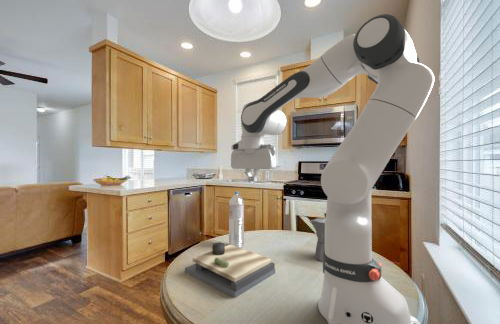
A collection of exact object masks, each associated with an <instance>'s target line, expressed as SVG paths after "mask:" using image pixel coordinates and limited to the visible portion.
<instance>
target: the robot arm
mask: <svg viewBox="0 0 500 324" xmlns="http://www.w3.org/2000/svg"><path fill="white" fill-rule="evenodd" d="M358 75H367V79H369V80H370V81H372V82H373V83H375V84H376V87H375V89H374V90H373V92H372V94H371V96H370V97H369V99H368V101H367V102H366V104H365V106H364V107H363V110H361V112H360V114H359V116H358V118H357V119H356V121H355V123H354V125H352V128H351V129H350V130H349V131H348V133H347V135H346V136H345V138H344V139H343V140H342V142H340V145H338V147H337V149H336V151H335V152H334V153H333V155H332V156H331V157H330V159H329V160H328V162H327V164H326V165H325V167H324V168H323V170H322V173H321V176H320V184H321V189H322V190H323V193H324V194H325V196H326V197H327V199H326V202H327V203H326V212H325V213H326V218H325V217H324V218H325V251H324V252H323V262H322V273H323V281H322V288H321V293H320V297H319V301H318V304H317V307H318V308H317V309H318V311H319V313H320V315H322V317H323V318H324V319H325V320H326V322H327V324H421V323H420V321H419V320H418V319H417V318H416V317H414V316H412V315H411V312H410V309H409V305H408V303H407V300H406V298H405V297H404V295H402V293H400V292H399V291H398V290H397V289H395V288H394V287H393V286H392V284H391V283H389V282H387V280H386V279H384V277H382V265H383V264H382V261H380V262H379V263H378V262H377V261H376V260H375V259H374V258H373V248H372V247H373V235H372V234H373V226H372V225H373V224H372V223H373V222H372V219H373V218H372V212H373V211H372V207H373V206H372V203H373V202H372V188H373V187H374V185H375V184H376V182H377V181H378V179H379V178H380V176H381V175H382V173H383V171H384V170H385V168H386V167H387V164H388V163H389V162H390V159H392V157H393V155H394V153H395V152H396V150H397V148H398V147H399V145H400V144H401V142H402V141H403V139H404V138H405V136H406V135H407V134H408V132H409V131H410V128H411V127H412V125H413V123H414V122H415V121H416V120H417V118H418V117H419V115H420V113H421V112H422V110H423V107H424V106H425V104H426V102H427V101H428V97H429V95H430V94H431V91H432V89H433V86H434V83H435V75H434V73H433V71H432V70H431V69H430V68H429V67H428V66H426V65H425V64H422V63H420V59H419V56H418V54H417V52H416V49H415V46H414V42H413V40H412V38H411V37H410V34H409V33H408V32H407V30H406V29H405V26H404V24H403V22H401V20H400V19H399V18H397V17H395V16H393V14H388V13H387V14H385V13H383V14H379V15H378V14H377V15H376V16H374V17H372V18H370V19H368V20H367V21H365V22H364V23H363V24H362V25H361V26H360V27H359V29H358V30H357V32H356V34H355V33H354V34H353V33H352V34H350V35H347V36H346V37H344V38H343V39H341V40H340V41H338V42H337V43H335V44H334V45H333V46H331V47H330V48H329V49H327V50H326V51H325V52H324V53H322V55H320V56H319V57H318V58H317V59H315V60H314V61H313V62H312V63H310V64H309V65H308V66H307V67H305V68H303V69H301V70H298V71H297V72H295V73H293V74H291V75H290V76H288V77H287V78H285V79H284V80H283V81H281V82H280V83H279V84H277V85H276V86H274V88H272V89H271V90H270V91H268V92H267V93H266V94H264V95H263V96H262V97H260V98H258V99H257V100H254V101H249V102H248V103H245V104H244V105H243V107H242V110H241V115H240V121H241V123H240V125H241V126H240V127H241V135H240V136H241V137H240V140H239V141H237V142H236V143H234V144H232V145H231V151H232V152H231V154H230V167H231V168H232V170H235V169H236V170H244V172H245V174H246V176H247V181H248V182H257V181H258V176H259V174H260V173H261V172H260V171H261V170H275V169H276V167H277V158H276V156H277V155H276V148H275V145H273V144H272V143H270V144H266V143H265V135H266V136H267V135H269V136H278V135H281V134H282V133H283V132H284V131H285V129H286V128H287V122H288V121H287V116H286V114H285V112H284V111H282V110H281V109H282V108H283V107H285V106H286V105H287V104H289V103H290V102H293V101H294V100H297V99H303V98H316V99H317V98H319V99H320V98H326V97H328V96H329V95H332V94H333V93H335V92H337V91H338V90H339V89H341V88H342V87H344V86H345V84H347V83H349V81H351V80H352V79H353V78H355V77H357V76H358ZM252 170H253V175H252Z"/></svg>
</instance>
